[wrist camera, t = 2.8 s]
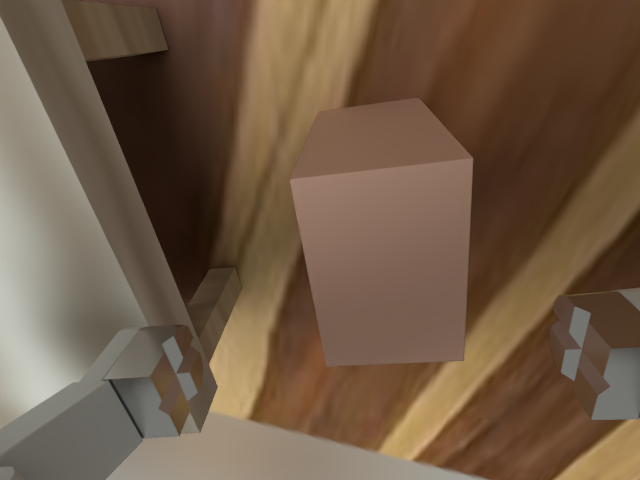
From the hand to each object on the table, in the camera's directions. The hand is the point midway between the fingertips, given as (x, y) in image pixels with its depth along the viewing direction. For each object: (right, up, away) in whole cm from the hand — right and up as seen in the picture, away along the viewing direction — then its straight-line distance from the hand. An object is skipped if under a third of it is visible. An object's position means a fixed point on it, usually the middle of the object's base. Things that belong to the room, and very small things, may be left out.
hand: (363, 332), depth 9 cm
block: (+1, +5, +8) cm, 10 cm away
